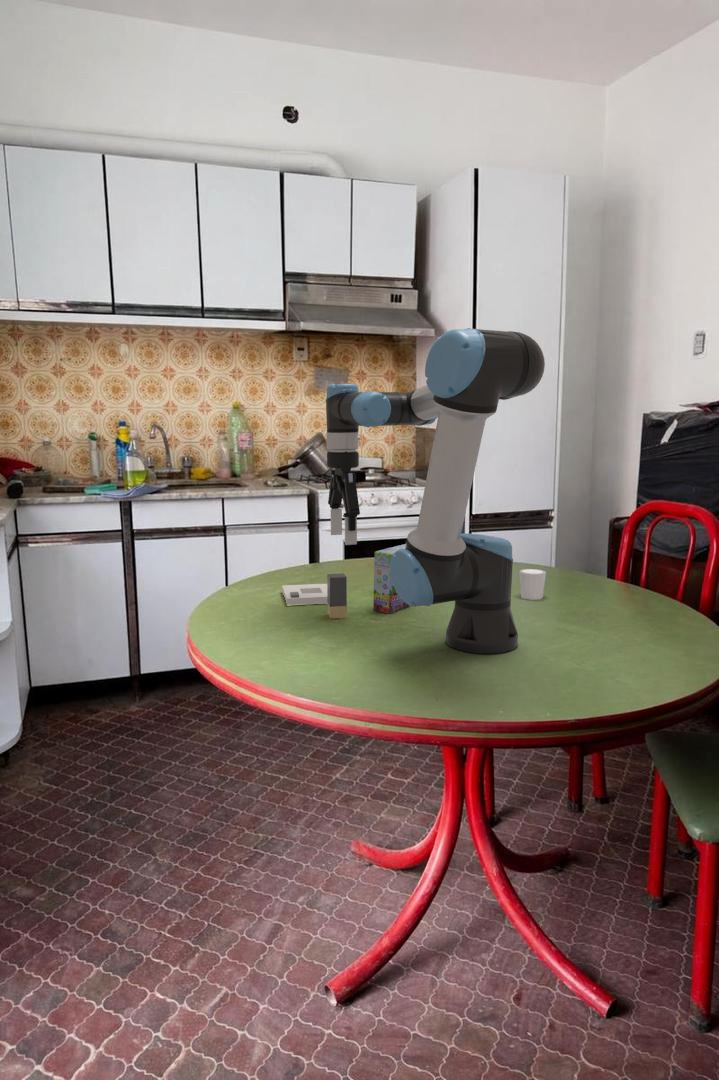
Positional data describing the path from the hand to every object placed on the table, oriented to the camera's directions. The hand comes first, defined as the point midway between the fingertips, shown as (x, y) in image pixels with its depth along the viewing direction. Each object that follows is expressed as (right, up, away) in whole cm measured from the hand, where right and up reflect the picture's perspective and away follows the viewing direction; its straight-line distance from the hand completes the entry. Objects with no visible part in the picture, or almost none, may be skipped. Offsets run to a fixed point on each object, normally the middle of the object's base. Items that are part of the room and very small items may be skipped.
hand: (343, 539), depth 182 cm
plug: (-2, -18, -1) cm, 18 cm away
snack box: (+16, -17, +11) cm, 25 cm away
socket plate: (-9, -15, +16) cm, 24 cm away
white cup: (+49, -15, +17) cm, 54 cm away
